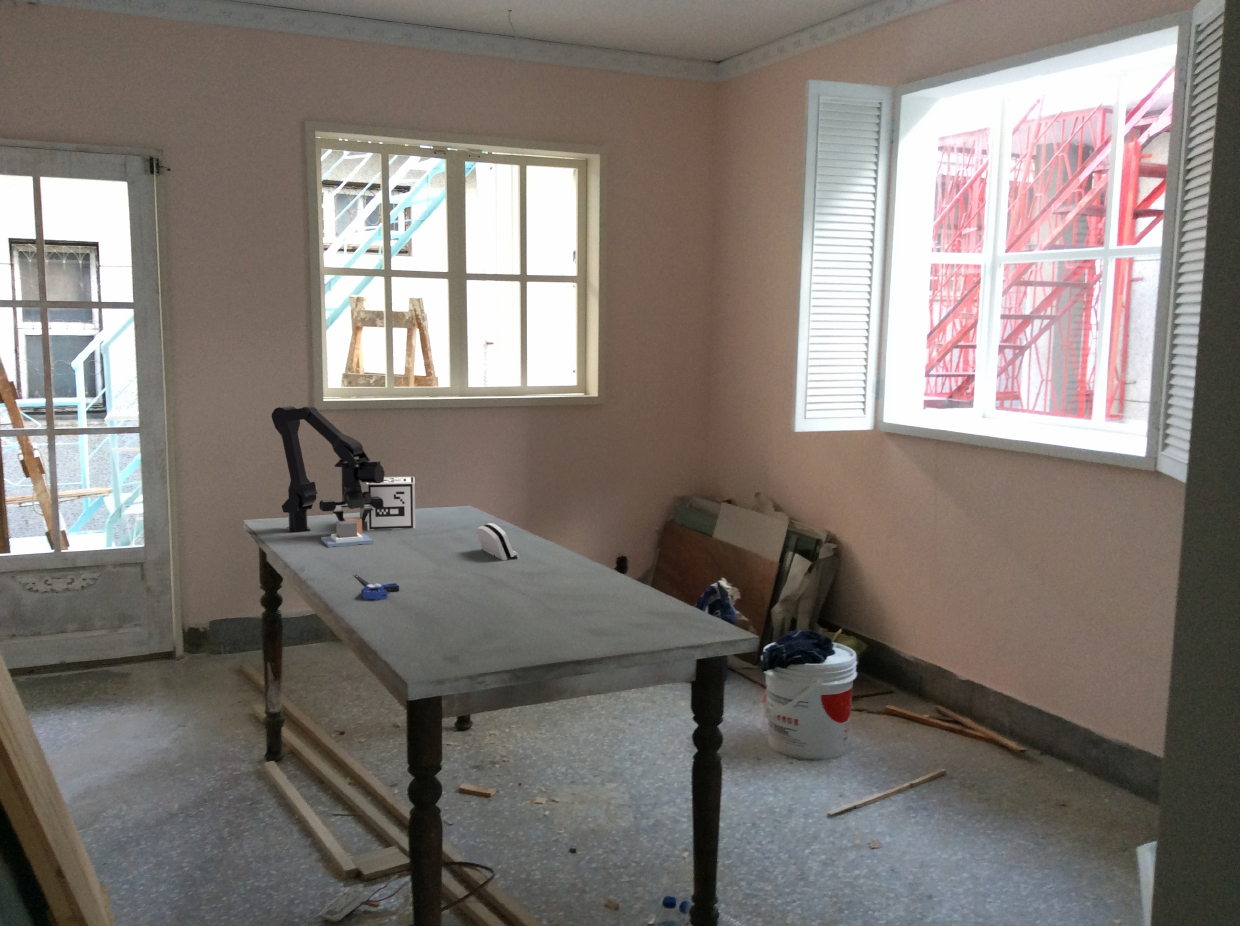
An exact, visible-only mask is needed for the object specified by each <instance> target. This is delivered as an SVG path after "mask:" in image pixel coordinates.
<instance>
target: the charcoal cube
mask: <svg viewBox="0 0 1240 926" xmlns="http://www.w3.org/2000/svg"><path fill="white" fill-rule="evenodd" d="M335 524H336V534H337V537H338V538H347V537H357V523H356V522H355V521H353V520H351V521H336V522H335Z"/></svg>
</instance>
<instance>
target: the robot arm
mask: <svg viewBox="0 0 1240 926" xmlns="http://www.w3.org/2000/svg"><path fill="white" fill-rule="evenodd" d="M271 420H272V423H273V426H274V428H275V429H276V431H277V433H278V434H279V435H280V436H281V439H282V445H283V449H284V454H285V458H286V465H287V469H288V473H289V479H290V482H289V486H288V490H287V492H288V495H287V496H288V498H287V500H286V501H284V503H282V505H281V509H282V513H287V517H288V518H287V519H288V526H286V527H285V529H286V530H287V531H288V532H289V533H293V532H305V531H311V528H310V527H309V526H308V510H312V509H313V506H314V503H315V502H316V500H317V495H318V491H317V489H316V482H315V481H310V479H309V478H308V477H307V472H306V468H305V467H306V466H305V464H304V459H303V458H304V457H303V453H302V448H301V443H300V438H299V430H300V427H301V426H300V425H301V420H304V421H305V422H307V424H308V425H309V426H311V428H313V429H314V430H315V431H317V432H318V433H319V434H320V435H321V436H322V437H323V438H324V439H325V440H326V441H327V442H328V443H329V444H330V445H331V447H332V449H333V452H334V453H335V454H336V456H337V457H338V458H339V460H338V461H337V462H336V463H335V464H334V467H335V468H340V473H341V474H340V475H341V476H340V479H341V487H340V488H341V501H335V500H334V499H333V498H332V499H321V500H320V501H319V503H318V504H319V506H318V507H319V510H320V511H321V512H331V513H333V514H335V516H336V518H337V520H338V521H344V518H345V517H344V511H343V509H342V508H348V509H350V510H354V509H359V518H361V519H362V530H363V528H364V525H365V521H366V520H367V515H368V513H369V512H370V511H373V508H381V507H384V502H383V499H382V498H380V497H378V496H375V497H371V493H370V492H367V491H363V490H362V484H361V482H362V483H366V484H367V483H381V482H382V481H383V479H384V477H385V473H386V472H385V470H384V467H383V465H382V464H381V461H380V460H374V461H373V460H372V461H371V460H370V458H369V456H368V455H367V453H366V451H365V449H363V445H362V443H361V442H359V440H356V439H355V438H354V437H352V436H349V435H347V434H344V433H343V432H342V431H340V430H339V429H338V428H337V427H336V426H335V425H334V424H333V423H331V421H329V420H328V419H327V418H326V417H325V416H324V415H322V413H320V412H319V411H318V409H317V408H316V407H314V406H303V407H301V408H299V407H298V408H296V407H295V406H293V405H292V406H291V405H289V406H278V407H275V409H274V410H273V411H272V413H271ZM372 507H373V508H372ZM338 521H337V522H338Z"/></svg>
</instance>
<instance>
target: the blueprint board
mask: <svg viewBox="0 0 1240 926" xmlns="http://www.w3.org/2000/svg"><path fill="white" fill-rule="evenodd" d="M321 542H323V544H325V545H326V546H327V548H334V547H333V546H339V547H347V545H350V546H359V545H358V544H362V545H370V544H369V543H373V544H374V540H373V539H372V538H371V537H370V536H368V535H367V534H366V533H362V534H359V533H358V532H357V537H347V538H338V537H337V533H332V534H330V535H329V536H321Z"/></svg>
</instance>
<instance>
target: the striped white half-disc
mask: <svg viewBox="0 0 1240 926" xmlns="http://www.w3.org/2000/svg"><path fill="white" fill-rule="evenodd" d="M475 532H476V535H477V539H478V542H479V545H480V548H481V550H482V549H483V550H482V551H484V552H486V553H488V554H490V555H492V556H494V555H495V556H494V557H496V558H497V559H500V560H501V561H506V560H508V558H510V557H511V558H516V557H517V558H516V559H518V557H519V558H520V555H519V553H518V552H517V551H515V550H513V547H512V545H511V542H510V540H509V537H508V535H507V533H506V532H505V531H504V530H503V529H502V528H501V527H499V526H498V525H497V524H495V523H493V522H492V523H491V522H489V523H488V522H487V523H485V524H483V525H480V526H478V527H477V528H476V529H475ZM514 556H515V557H514Z"/></svg>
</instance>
